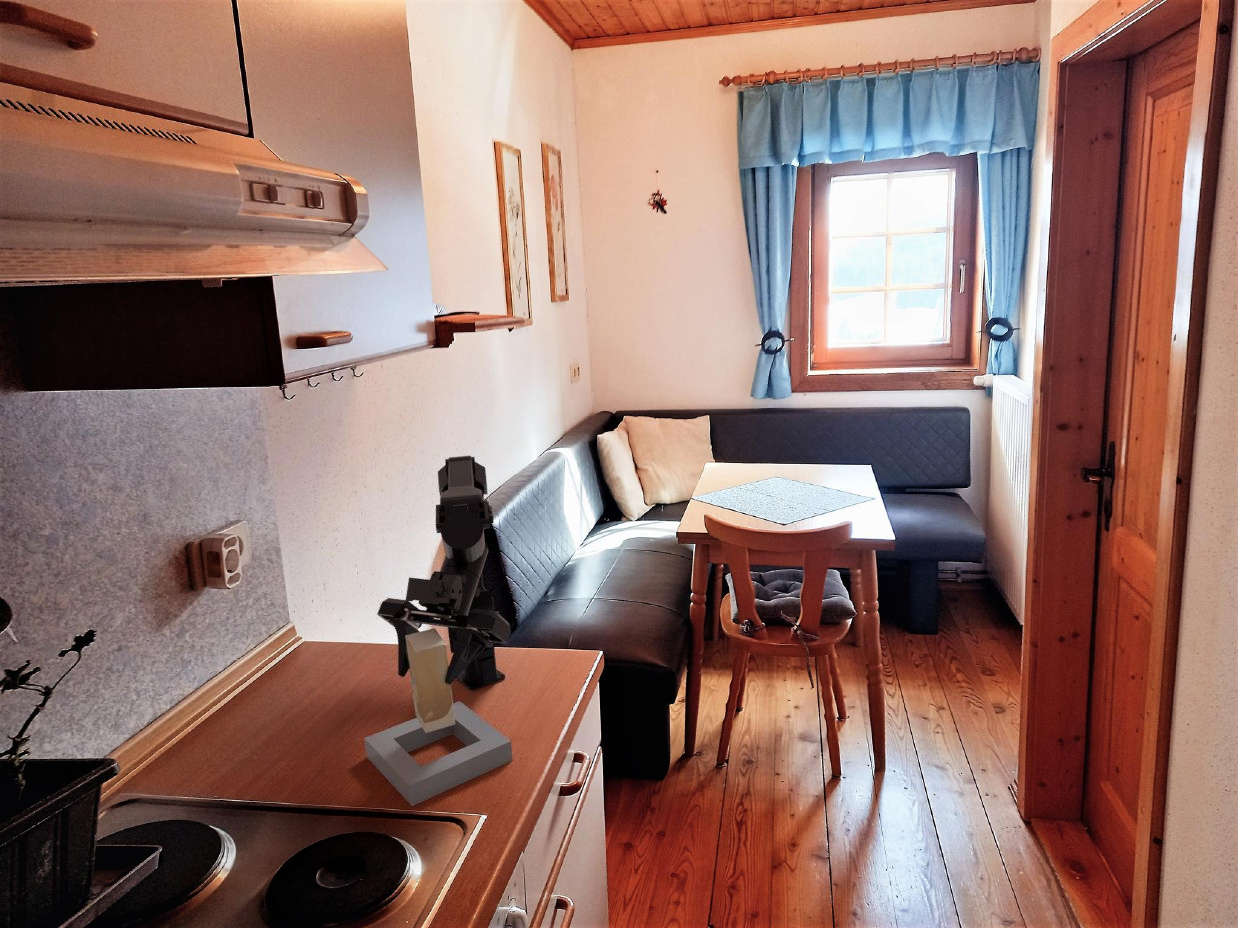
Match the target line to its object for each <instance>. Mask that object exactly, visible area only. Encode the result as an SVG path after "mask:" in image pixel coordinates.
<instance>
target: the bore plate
mask: <svg viewBox="0 0 1238 928" xmlns="http://www.w3.org/2000/svg"><path fill="white" fill-rule="evenodd" d="M453 708H454V717H455V724H454V725H451V726H448V727H445V728H441V729H438V730H434V731H431V732H427V733H425V731H424V730H423V728H422V726H421V724H420V723H419V721H418V718H417V717H415V718H412V719H409V720H407V721H405V722H401V723H400V724H397V725H395V726H392V727H390V728H387V729H385V730H382V731H379V732H376V733H374V734H371V735H368V736H366V737H364V738H363V739H364V745H365V746H364V749H365V753H366V758H367V759H368V761H370V762H371V764H373V766H374V767H376V769H377V770H378V771H379V772H380V773H381V774H382V775H383V776H384V778H385V779H387V781H388V782H389V783H390V784H391V785H392V786H393V787H394V789H396V791H397V792H399V794H400V795H401V796H402V797H403V798H404V799H405V800H406V802H407V803H409V804H410V806H411V807H414V806H416V805H418V804H420V803H423V802H425V801H427V800H428V799H431V798H434V797H435V796H438V795H439V794H442V793H445V792H447V791H449V790H450V789H453V788H456V787H457V786H460V785H462V784H464V783H466V782H469V781H471V780H472V779H475V778H477V777H480V776H481V775H484V774H486V773H488V772H491V771H493V770H495V769H496V768H499V767H501V766H503V765H505V764H508V763H510V762H512V761H513V760H514V759H513V749H512V740H510V739H509V738H508V737H506V736H505V735H504V734H502V733H501V732H500V731H498V729H496V728H495V727H494V726H492V725H491V724H490V723H488V722H487V721H486V720H484V718H482V717H481V716H479V714H477V713H476V712H474V711H473V710H472V709H471V708H469V707H468V706H467V705H465V704H464V703H463V702H461V701H455V702H453ZM451 735H454V737H455V738H457V739H458V740H459V741H460V742H462V744H464V745H465V747H462V748H461V749H458V750H455V751H453V752H451V753H449V754H447V755H444V756H441V757H440V758H437V759H435V760H432V761H430V762H427V763H425V764H423V765H421V764H420V763H419V762H418V761H416V760H415V759H414V757H412V756H411V754H409V753H410V752H413V751H415V750H417V749H420V748H423V747H425V746H427V745H430V744H432V743H434V742H437V741H439V740H442V739H445V738H447V737H449V736H451Z"/></svg>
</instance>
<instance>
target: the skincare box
mask: <svg viewBox="0 0 1238 928" xmlns="http://www.w3.org/2000/svg"><path fill="white" fill-rule="evenodd" d="M405 638H406V644H407V652H408V659H409V667H410V668H409V674H410V675H409V676H410V681H411V689H412V698H413V705H414V712H415V716H416V718H418V721H419V723H420V724H421V726H422V728H423V730H424V731H425V733H427V732H431V731H434V730H438V729H441V728H445V727H448V726H451V725H454V724H455V717H454V708H453V703H454V702H453V700H454V699H453V693H452V684H451V685H448V684H446V683H445V679H446V674H447V670H448V667H449V665H450V664H449V657H448V651H447V650H448V649H447V644H446V642H445V640H444V639H443V638H442V636H441V635H440V634H439V632H438V631H437V629H436V628H434V627H433V628H430V629H426V630H421V631H420V632H417V633H413V634H409V635H406V636H405Z"/></svg>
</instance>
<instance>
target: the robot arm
mask: <svg viewBox="0 0 1238 928" xmlns="http://www.w3.org/2000/svg"><path fill="white" fill-rule="evenodd" d="M475 460H476V459H475V456H472V455H463V456H462V455H461V456H452V457H451V456H450V457H448V458H445V461H444V462H445V465H443V466H442V467H441V468H440V469H439V470H438V471H437V480H438V481H437V482H438V484H437V485H438V492H439V504H435V530H436V534H440V535H441V536H440V537H441V541H442V545H443V550H444V553H445V555H444V558H443V561H442V564H441V567H440V569H439V571H437V570H434V571H433V572H432V573H431V575H430V578H429V579H427V578H416V577H410V576H409V577H408V582H407V588H406V594H405V599H400V598H392V597H391V598H390V597H387V598H386V599H384V600H383V601H382V602H381V603H380V605H379V609H378V611H377V613H376V615H377V616H378V617H380V618H381V619H383V620H384V621H385V622H387V623H388V624H389V625H391V626H392V627H393V628H394V629H395V632H396V637H397V647H398V648H397V653H398V655H397V664H398V665H397V675H398V676H399V677H401V678H404V677H406V675H407V673H408V671H410V667H409V659H408V652H407V644H406V638H405V636H406V635H409V634H413V633H417V632H421V631H419V629H420V628H422V626H423V625H430V626H435V627H444V628H447V632H448V638H449V639H448V640H449V648H450V654H452V656H451V659H450V662H449V664H448V665H449V667H448V670H447V674H446V679H445V683H446V684H448V685H451V686H452V684H453V683H454V682H455V680H456V681H458V682H459V683H460V684H462V685H463V686H464V687H466V688H467V689H469V690H470V691H476V690H478V689H482V688H484V687H486V686H489V685H491V684H494V683H496V682H500V681H501V680H504V679H506V674H505V673H503V672H502V671H500V670H498V669H497V659H496V651H495V650H496V649H495V648H502V647H503V645H504V644H505V645H506V644H508V642H509V639H510V637H511V636H510V635H511V633H512V632H511V625H510V623H509V622H508V621H507V620H506V619H505V618H504V617H502V616H501V614H500V611H499V610H498V611H495V600H494V597H493V596H492V593H491V592H490V590H489V589H486V587H484V581H483V569H484V566H485V562H486V560H487V556H488V553H489V548H488V545H487V543H486V542H485V532H484V531H485V530H486V529H490V528H491V525H492V524H494V513H493V507H492V506H491V505H490V504H489V503H490V502H489V501H488V499H485V495H486V496H487V495H488V483H487V470H486V467H485V466H483V465H482V464H481V463H478V462H476V461H475ZM490 524H491V525H490ZM413 601H418V605H420V606H421V607H425V608H426V609H425V610H424V609H420V608H419V607H417V606H416V605H414V604H413V603H412V602H413Z"/></svg>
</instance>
